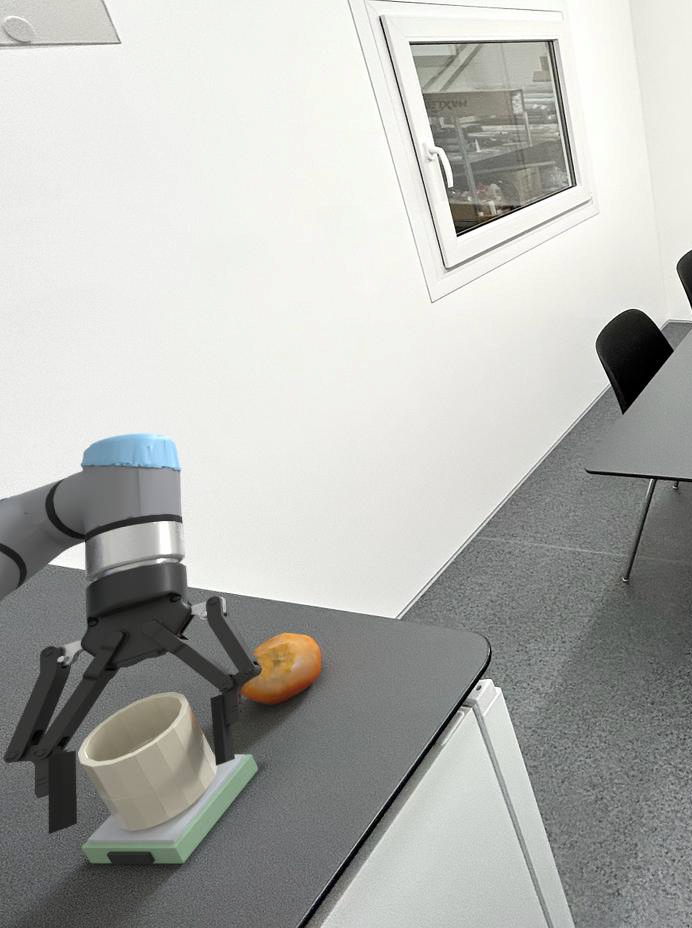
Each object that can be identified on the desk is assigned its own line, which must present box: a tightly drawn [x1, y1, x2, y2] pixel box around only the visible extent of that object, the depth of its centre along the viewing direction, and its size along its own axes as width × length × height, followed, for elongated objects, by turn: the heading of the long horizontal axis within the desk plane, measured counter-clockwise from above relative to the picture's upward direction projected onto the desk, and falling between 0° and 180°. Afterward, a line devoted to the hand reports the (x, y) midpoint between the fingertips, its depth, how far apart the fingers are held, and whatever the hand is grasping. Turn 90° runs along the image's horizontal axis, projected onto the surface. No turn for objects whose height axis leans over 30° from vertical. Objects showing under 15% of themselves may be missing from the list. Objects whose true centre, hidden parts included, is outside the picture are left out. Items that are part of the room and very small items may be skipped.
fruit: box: [241, 632, 322, 706], centre depth 79 cm, size 8×8×8 cm
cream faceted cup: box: [77, 691, 218, 831], centre depth 63 cm, size 8×8×10 cm
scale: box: [81, 753, 259, 865], centre depth 65 cm, size 9×10×3 cm
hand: (148, 794), depth 61 cm, fingers open, 11 cm apart
